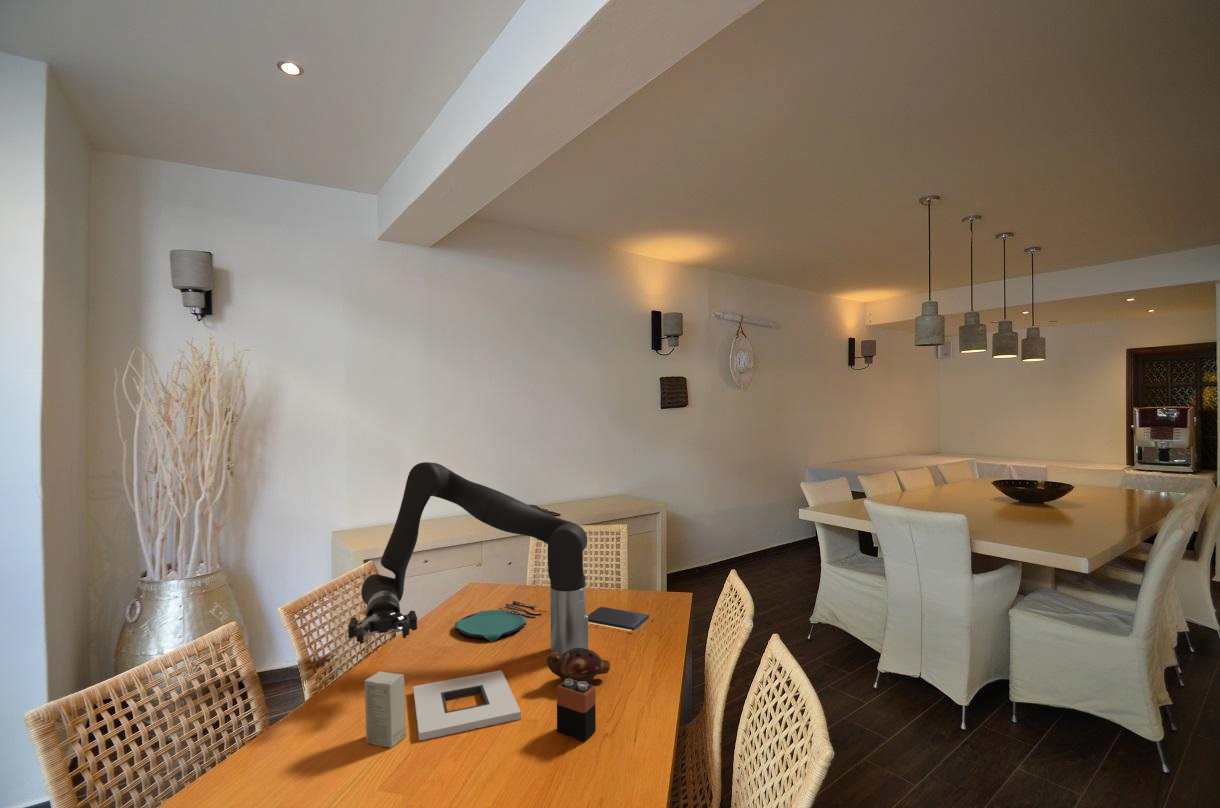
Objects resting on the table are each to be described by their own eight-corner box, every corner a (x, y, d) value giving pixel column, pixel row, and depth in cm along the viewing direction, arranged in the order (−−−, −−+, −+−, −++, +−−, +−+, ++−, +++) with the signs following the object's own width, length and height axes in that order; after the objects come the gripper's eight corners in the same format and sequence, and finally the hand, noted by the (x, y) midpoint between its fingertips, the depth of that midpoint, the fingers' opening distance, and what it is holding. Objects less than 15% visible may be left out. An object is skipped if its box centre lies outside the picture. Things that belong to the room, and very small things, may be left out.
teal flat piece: (440, 633, 162) (441, 625, 162) (510, 603, 188) (510, 596, 188) (492, 648, 152) (492, 640, 152) (559, 615, 177) (559, 608, 177)
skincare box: (406, 736, 111) (406, 674, 111) (390, 749, 106) (390, 684, 107) (380, 730, 113) (380, 669, 113) (363, 743, 109) (363, 679, 109)
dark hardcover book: (656, 613, 172) (634, 631, 159) (656, 620, 172) (634, 638, 159) (599, 603, 182) (574, 619, 168) (599, 609, 182) (574, 625, 168)
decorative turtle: (540, 680, 133) (542, 645, 134) (600, 673, 139) (601, 639, 140) (552, 697, 124) (553, 660, 125) (615, 689, 130) (616, 653, 131)
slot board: (501, 676, 135) (501, 670, 135) (520, 718, 117) (520, 711, 117) (413, 693, 128) (413, 686, 128) (418, 741, 109) (418, 733, 109)
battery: (584, 743, 108) (584, 690, 108) (555, 732, 112) (555, 682, 112) (596, 732, 112) (596, 681, 112) (568, 722, 115) (568, 673, 115)
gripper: (350, 598, 133) (347, 623, 118) (414, 591, 139) (418, 614, 124) (350, 630, 133) (346, 659, 118) (414, 622, 139) (418, 648, 124)
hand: (383, 636), depth 121 cm, fingers open, 8 cm apart
